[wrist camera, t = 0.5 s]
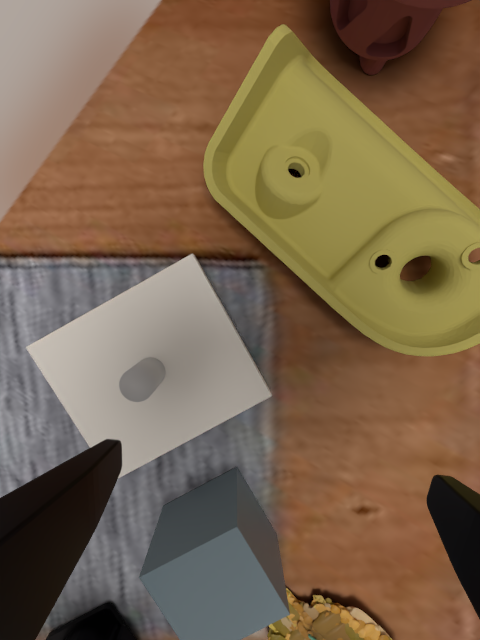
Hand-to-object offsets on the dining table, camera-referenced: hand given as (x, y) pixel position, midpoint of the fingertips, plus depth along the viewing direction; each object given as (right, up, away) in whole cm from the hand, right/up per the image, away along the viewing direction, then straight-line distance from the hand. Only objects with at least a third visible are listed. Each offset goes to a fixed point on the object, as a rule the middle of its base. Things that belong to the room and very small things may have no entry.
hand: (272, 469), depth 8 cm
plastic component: (+7, +12, +14) cm, 19 cm away
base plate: (-8, +1, +14) cm, 16 cm away
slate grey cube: (-3, -13, +16) cm, 20 cm away
